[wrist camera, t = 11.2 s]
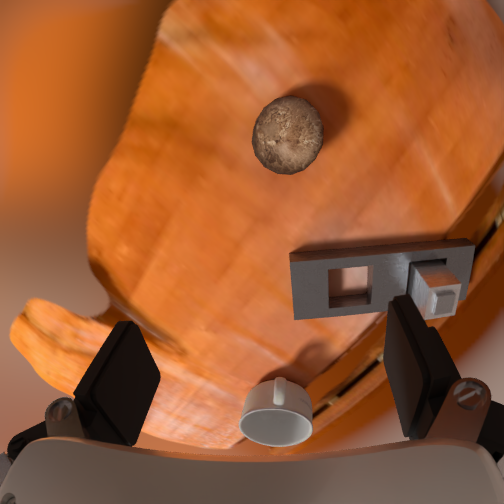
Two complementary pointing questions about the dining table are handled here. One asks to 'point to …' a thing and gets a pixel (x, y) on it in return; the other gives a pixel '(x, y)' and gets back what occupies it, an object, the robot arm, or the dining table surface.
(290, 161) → the mushroom
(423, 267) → the grey rectangular block
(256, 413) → the teacup
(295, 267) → the rail
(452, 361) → the robot arm
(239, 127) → the dining table surface
